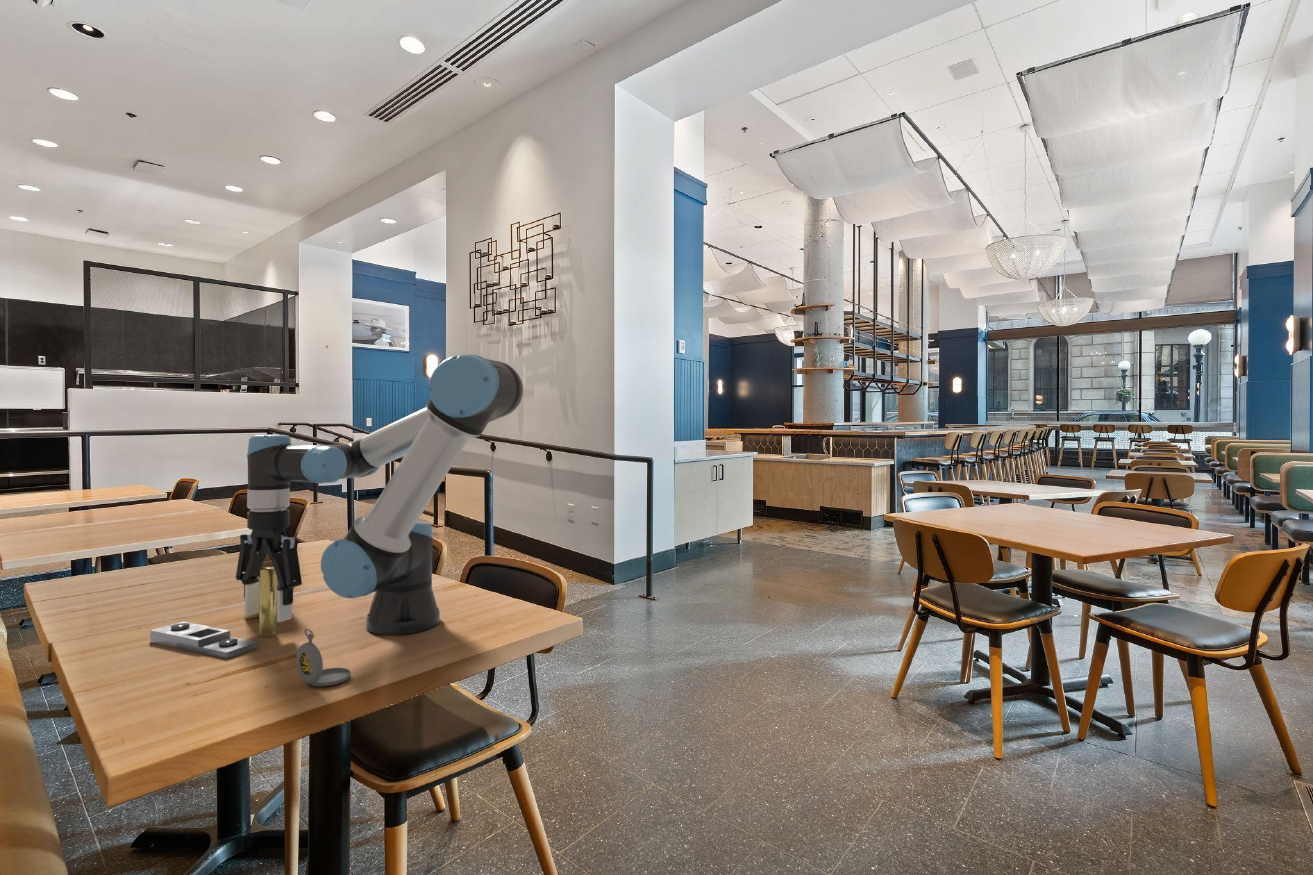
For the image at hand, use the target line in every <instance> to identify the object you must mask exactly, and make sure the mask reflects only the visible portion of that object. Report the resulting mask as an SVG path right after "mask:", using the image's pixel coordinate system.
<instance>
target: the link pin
mask: <svg viewBox="0 0 1313 875" xmlns="http://www.w3.org/2000/svg"><path fill="white" fill-rule="evenodd" d="M276 611H277V575H276V572H275V569H274V567H265V568H261V569H260V617H258V618H259V619H258V620H259V630H258V631H259V634H258V635H259V638H260V639H261V638H262V639H268V638H272V637H275V636H276V635H277V615H276Z"/></svg>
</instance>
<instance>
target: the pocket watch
mask: <svg viewBox="0 0 1313 875" xmlns="http://www.w3.org/2000/svg"><path fill="white" fill-rule="evenodd" d="M307 631H308V632H309V634H308V633H307ZM304 635H305V636H306V637H307V638H306V639H307V640H308V641H307V642H304V643H303V644H301V645H300V646H299V647H298V648H297V652H296V659H295V661H296V663H295V664H296V668H297V671H298V675H299V676H300V678H301V679H302V681H304V682H305V683H306V684H309V686H313V687H329V686H335V685H338V684H341V683H343V682H345V681H347V680H348V679H349V678H351V675H352V671H351V670H350V669H349V668H345V667H329V668H324V663H323V656H322V654H321V650H319V648H318V646H316V644H315V643H313V641H312V640H313V639H314V637H315V634H314V632H313V631H312V630H310V629H309V628H306V629H304Z"/></svg>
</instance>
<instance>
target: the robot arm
mask: <svg viewBox="0 0 1313 875" xmlns="http://www.w3.org/2000/svg"><path fill="white" fill-rule="evenodd" d="M428 388H429V391H430V393H429V397H430V398H429V399H428V400H427V403H426V405H425V407H424V408H421V409H419V410H418V411H415V412H413V413H411V414H409V415H407V416H405V417H403V418H400V419H399V420H396V421H394V422H392V423H390V424H388V425H385V426H384V427H381V428H379V429H377V430H375V431H373V432H371V433H369V434H367V435H364V436H363V437H361V438H358V439H356V440H353V441H351V442H349V443H342V444H341V443H340V444H339V443H338V444H321V445H320V444H318V445H315V444H314V445H311V444H310V445H304V444H303V445H300V444H299V445H295V444H292V442H291V437H290V436H289V435H287V434H255V435H251V436H250V437H249V439H248V443H247V444H248V446H247V454H246V457H247V493H246V501H247V502H246V508H248V509H250V510H248V512H247V513H246V514H247V516H246V518H247V520H246V522H247V523H246V525H247V526H246V528H248V529H249V530H251V532H249V533H242V534H240V536H239V540H240V548H239V553H238V561H237V567H236V573H235V580H237V581H241V584H242V585H243V598H244V617H245V616H251V615H254V614H258V613H259V605H260V583H259V582H256V581H259V580H260V579H259V580H258V575H259V572H260V569H261V567H262V564H263V561H264V559H265V556H266V555H268V558H269V559H270V560H272V563H273V566H274V569H275V572H276V575H277V579H278V582H279V585H280V588H279V589H277V615H276V623H282V622H286V621H288V620H289V621H290V620H292V615H293V614H292V611H293V610H292V609H293V605H292V604H293V603H294V588H296V587H298V586H301V585H302V583H303V581H302V575H301V568H300V567H301V566H300V561H299V554H298V552H299V551H298V543H299V540H298V537H288V536H287V534H286V529H287V528H288V527H289V526H290V524H291V521H290V520H291V511H290V509H289V508H288V507H289V506H291V504H290V503H291V501H290V500H291V499H290V497H291V494H290V493H291V490H290V488H291V482H297V483H298V482H301V483H302V482H303V483H315V484H319V485H321V484H329V483H336V482H338V481H339V480H342V479H353V478H365V477H367V476H371V475H373V474H376V473H377V472H378V470H379V469H380V467H382V466H385V465H386V464H389V463H391V462H393V461H395V460H398V459H400V458H402V457H403V458H402V460H401V461H400V463H399V464H398V466H397V467H396V469H395V471H394V473H393V474H392V476H391V477H390V479H389V480H388V482H387V484H386V485H385V487H384V488H383V490H382V492H381V494H379V497H378V498H377V500H376V502H375V503H374V505H373V507H372V508H371V510H370V511H369V513H368V514H367V515H362V516H359V517H357V518H356V519H355V520H354V522H353V524H352V525H351V527H350V529H349V530H348V532H347V533H346V535H345V536H344V537H343V539H338V540H335V541H334V542H332V543H330V544H329V545H327V547H326V548H325V549H324V551H323V553H322V556H321V560H320V570H321V573H322V575H323V577H322V578H323V580H324V582H325V584H326V585H327V587H328V588H329V589H330V590H331V591H332V592H333V593H334V594H335V595H337V596H339V597H341V598H345V599H357V598H362V597H366V596H369V595H371V594H372V593H374V596H373V598H372V601H371V603H370V604H371V605H370V607H369V611H368V613H367V614H366V620H365V623H366V624H365V625H366V628H365V629H366V630H367V631H368V632H371V633H373V634H377V635H384V636H387V635H389V636H391V635H393V636H397V635H399V636H400V635H409V634H415V633H419V632H423V631H426V630H429V629H432V628H434V627H436V626H437V625H438V624H439V623H440V620H441V618H440V616H441V614H440V609H439V607H438V605H437V601H436V597H435V594H434V591H433V544H434V542H433V541H434V537H433V536H434V535H433V527H432V524H430V523H429V522H426V521H418V520H419V518H420V517H422V516H421V515H422V514H423V513H424V511H425V509H426V508H427V506H428V505H429V503H430V502H431V500H432V498H433V497H434V495H435V494H436V492H437V490H438V488H439V487H440V485H441V484H442V483H443V481H444V479H445V477H446V476H447V474H448V473H449V471H450V470H451V468H452V466H453V465H454V463H455V462H456V461H457V458H458V457H459V455H460V453H461V452H462V451H463V450H464V447H465V446H466V444H467V442H468V441H469V440H470V439H473V438H479V437H480V436H481V435H482V433H483V432H484V431H485V429H486V428H487V426H488V424H489V423H491V422H493V421H496V420H498V419H501V418H503V417H507V416H508V415H510V414H512V413H513V412H514V411H515V410H517V408H518V407H519V405H520V404H521V402H522V399H523V395H524V386H523V381H522V379H521V377H520V375H519V373H518V371H516V370H515V369H514V367H512V366H511V365H509V364H507V363H506V362H502V361H498V360H493V359H490V358H489V359H488V358H485V357H483V356H482V355H481V356H480V355H478V354H477V355H476V354H458V355H453V356H451V357H448V358H446V359H444V360H443V361H442V362H440V363H439V364H438V365H437V366H436V368H434V371H433V372H432V374H431V376H430V379H429V383H428ZM279 552H280V553H279ZM254 582H256V583H254ZM286 582H287V583H286Z"/></svg>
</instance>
